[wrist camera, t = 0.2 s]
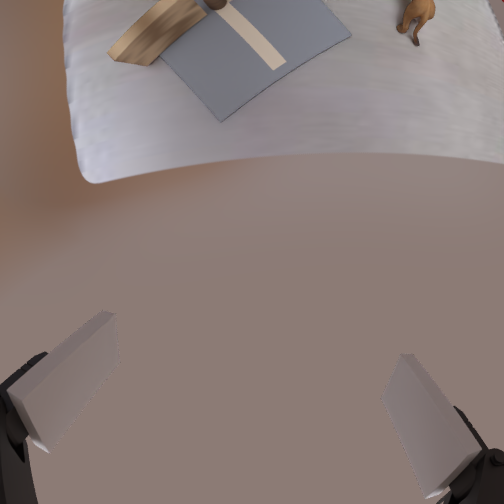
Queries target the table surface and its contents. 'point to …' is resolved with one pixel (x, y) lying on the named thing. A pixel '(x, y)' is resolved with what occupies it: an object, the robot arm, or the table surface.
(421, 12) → the lion figurine
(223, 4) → the fence post and fixed section
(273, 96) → the table surface
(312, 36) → the card
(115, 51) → the hinged fence panel
